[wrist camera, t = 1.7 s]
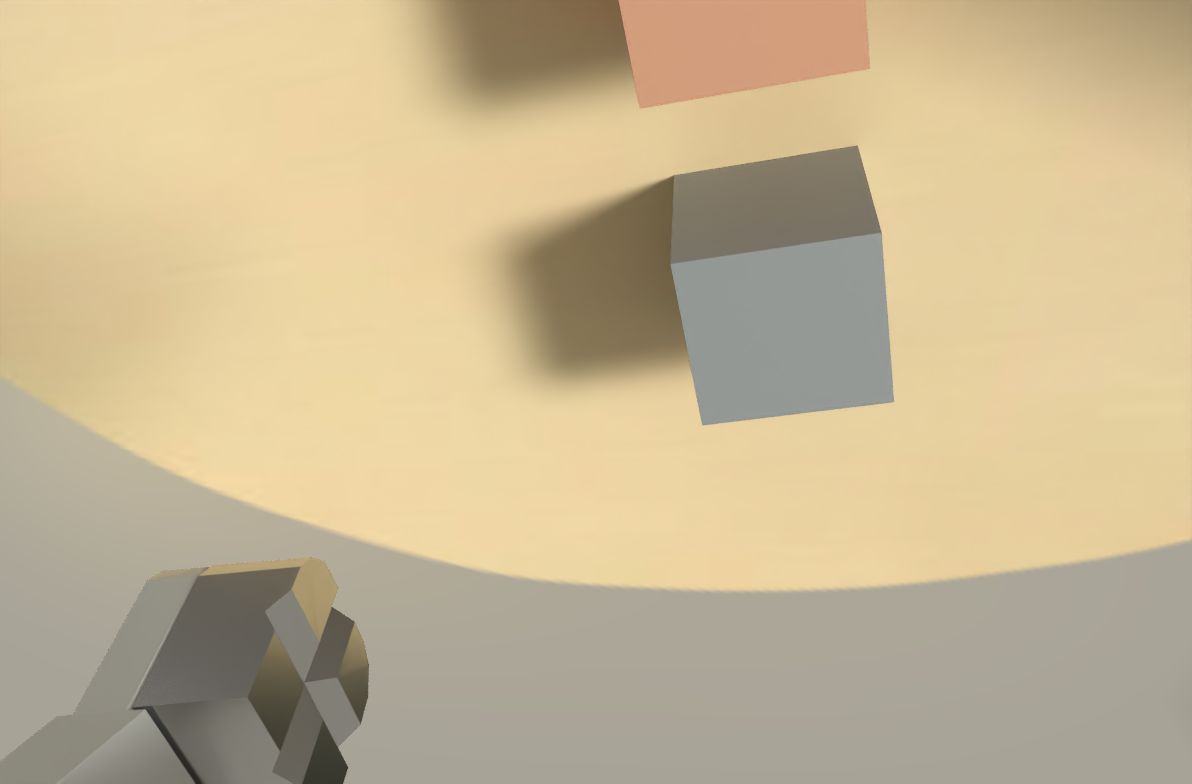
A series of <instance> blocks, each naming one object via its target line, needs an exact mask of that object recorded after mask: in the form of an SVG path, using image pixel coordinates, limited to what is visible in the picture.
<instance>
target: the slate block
mask: <svg viewBox="0 0 1192 784" xmlns="http://www.w3.org/2000/svg"><path fill="white" fill-rule="evenodd" d="M670 265H671V270H672V275H673V280H674V285H675V290H676V295H677V300H678V305H679V310H680V315H681V320H682V326H683V331H684V336H685V341H686V346H687V351H688V356H689V361H690V366H691V371H692V376H693V381H694V386H695V391H696V396H697V401H698V406H699V411H700V416H701V421H702V425H709V424H718V423H726V422H734V421H742V420H751V419H759V418H767V417H775V416H784V415H792V414H800V413H808V412H817V411H825V410H833V409H841V408H849V407H858V406H866V405H874V404H882V403H891V402H894V396H893V382H892V369H891V355H890V341H889V328H888V314H887V301H886V287H885V273H884V260H883V246H882V233H881V229H880V225H879V222H878V218H877V214H876V211H875V207H874V203H873V200H872V196H871V193H870V189H869V185H868V182H867V178H866V174H865V171H864V167H863V163H862V160H861V156H860V152H859V149H858V146H852V147H846V148H840V149H834V150H827V151H821V152H815V153H809V154H803V155H797V156H791V157H784V158H778V159H772V160H766V161H760V162H754V163H747V164H741V165H735V166H729V167H723V168H717V169H710V170H704V171H698V172H692V173H686V174H680V175H674V188H673V211H672V235H671V259H670Z"/></svg>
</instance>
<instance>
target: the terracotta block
mask: <svg viewBox="0 0 1192 784" xmlns="http://www.w3.org/2000/svg"><path fill="white" fill-rule="evenodd" d="M619 5H620V10H621V15H622V20H623V25H624V31H625V36H626V41H627V46H628V51H629V56H630V61H631V66H632V71H633V76H634V81H635V86H636V91H637V97H638V102H639V107H640V108H646V107H652V106H658V105H663V104H669V103H675V102H681V101H686V100H692V99H698V98H704V97H709V96H715V95H721V94H727V93H732V92H738V91H744V90H750V89H755V88H761V87H767V86H773V85H778V84H784V83H790V82H796V81H801V80H807V79H813V78H819V77H824V76H830V75H836V74H842V73H847V72H853V71H859V70H865V69H870V62H869V47H868V33H867V19H866V5H865V0H619Z"/></svg>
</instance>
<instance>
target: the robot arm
mask: <svg viewBox="0 0 1192 784" xmlns="http://www.w3.org/2000/svg"><path fill="white" fill-rule="evenodd" d="M337 590H338V586H337V584H336V582H335V580H334V578H333V577H332V574H331V573H330V571H329V569H328V567H327V565H326V563H325V562H324V561H322V560H318V559H314V558H299V559H288V560H275V561H262V562H251V563H237V564H225V565H213V566H211V567H205V568H190V569H177V570H164V571H161V572H160V573H158V574H156V575H155V576H153V577H152V578H151V579H149V580H147V582H146V584H145V586H144V587H143V589H142V591H141V593H140V594H139V596H138V598H137V600H136V602H135V603H134V605H133V607H132V609H131V611H130V613H129V614H128V616H127V618H126V620H125V622H124V623H123V625H122V627H121V629H120V630H119V632H118V634H117V636H116V638H115V639H114V641H113V643H112V645H111V647H110V649H109V650H108V652H107V654H106V656H105V657H104V659H103V661H102V663H101V665H100V666H99V668H98V670H97V672H96V674H95V676H94V677H93V679H92V681H91V683H90V685H89V687H88V688H87V690H86V692H85V694H84V696H83V697H82V699H81V701H80V703H79V704H78V706H77V708H76V710H75V712H74V713H73V715H67V716H57V717H55V718H54V719H53V720H52V721H50V722H49V723H48V724H47V725H45V726H44V727H43V728H42V729H41V730H39V731H38V732H37V733H35V734H34V735H33V736H31V737H30V738H29V739H28V740H26V741H25V742H24V743H23V744H22V745H20V746H19V747H18V748H16V749H15V750H14V751H13V752H11V753H10V754H9V755H8V756H6V757H5V758H4V759H2V760H1V761H0V784H343V782H344V779H345V776H346V772H347V769H348V766H347V764H346V762H345V760H344V758H343V756H342V754H341V752H340V750H339V748H338V747H339V746H340V745H341V744H342V742H344V741H345V740H346V739H347V738H348V736H350V735H351V734H352V733H353V732H354V730H356V729H357V728H358V726H359V725H360V724H361V721H362V718H363V713H364V710H365V706H366V703H367V699H368V679H369V678H368V676H369V664H368V659H367V654H366V650H365V645H364V641H363V639H362V636H361V634H360V632H359V630H358V628H357V625H356V623H355V622H354V621H353V620H351V619H350V618H348V617H347V616H345V615H343V614H342V613H340V612H339V611H337V610H336V609H334V608H333V607H332V605H333V602H334V598H335V596H336V593H337Z"/></svg>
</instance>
